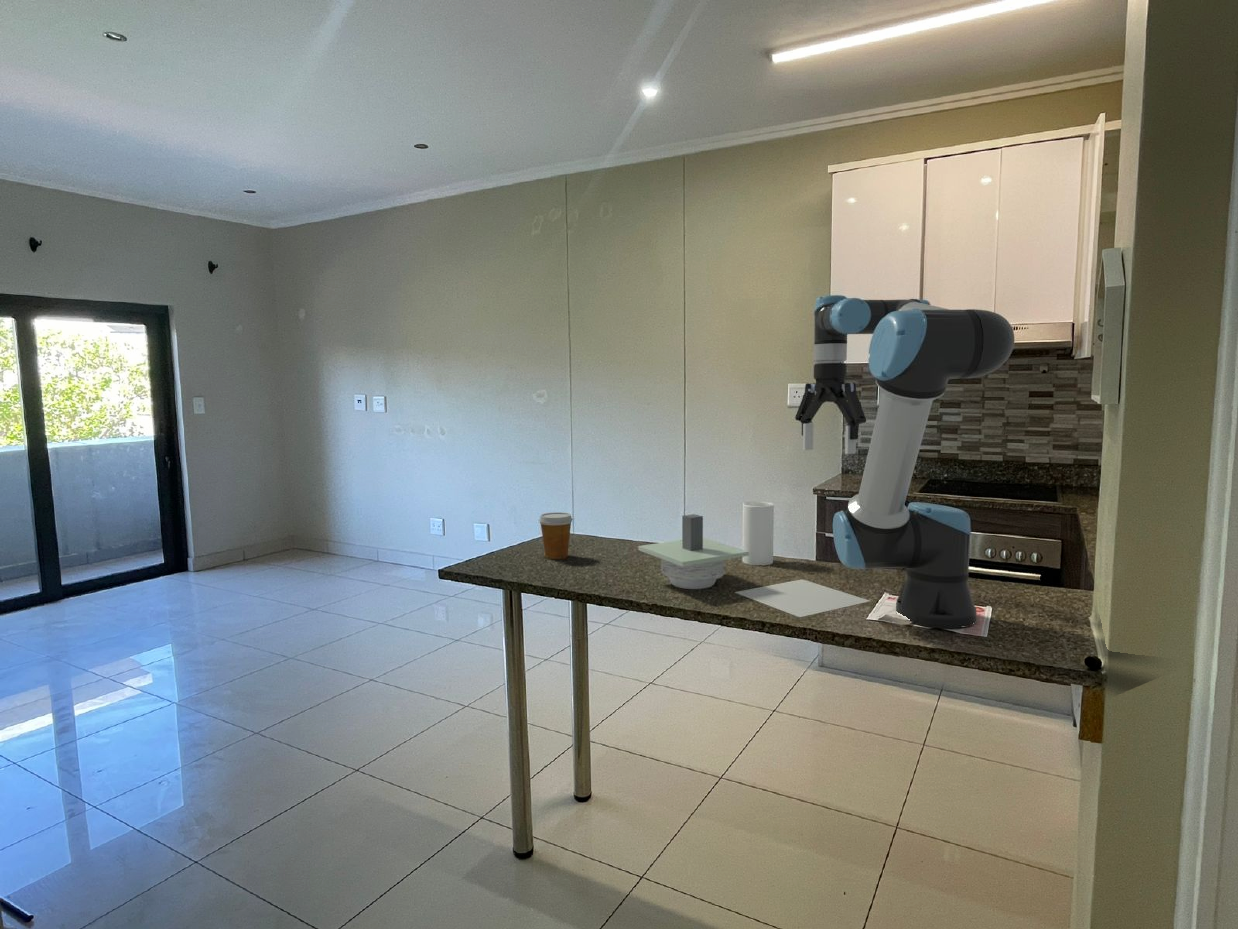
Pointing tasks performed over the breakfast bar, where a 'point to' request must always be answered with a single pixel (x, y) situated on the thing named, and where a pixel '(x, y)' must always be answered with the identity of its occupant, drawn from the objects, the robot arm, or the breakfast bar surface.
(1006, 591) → the breakfast bar surface
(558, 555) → the disposable coffee cup
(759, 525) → the cup
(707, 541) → the cover
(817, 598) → the mat
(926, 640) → the breakfast bar surface
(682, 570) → the paper bowls
